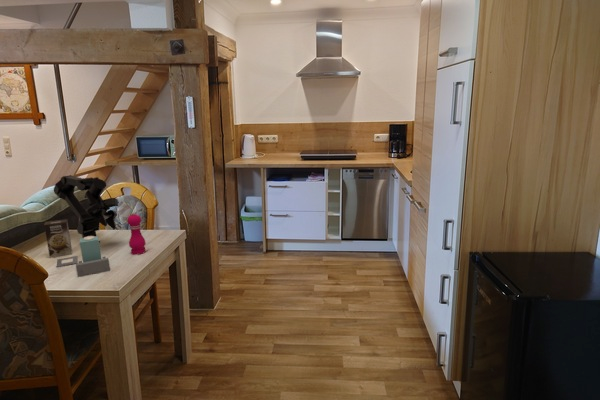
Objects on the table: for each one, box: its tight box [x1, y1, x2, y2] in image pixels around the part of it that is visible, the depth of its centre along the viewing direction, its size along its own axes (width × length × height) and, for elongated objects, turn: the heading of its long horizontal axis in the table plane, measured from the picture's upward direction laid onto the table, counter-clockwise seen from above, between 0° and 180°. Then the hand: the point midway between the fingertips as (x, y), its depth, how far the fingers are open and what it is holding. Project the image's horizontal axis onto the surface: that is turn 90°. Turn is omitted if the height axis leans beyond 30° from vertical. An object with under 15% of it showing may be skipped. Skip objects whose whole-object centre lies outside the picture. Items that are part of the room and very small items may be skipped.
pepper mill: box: [126, 211, 146, 256], centre depth 183 cm, size 7×7×20 cm
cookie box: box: [43, 218, 73, 259], centre depth 184 cm, size 9×6×16 cm
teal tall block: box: [79, 235, 102, 263], centre depth 169 cm, size 6×7×13 cm
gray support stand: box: [75, 256, 111, 278], centre depth 166 cm, size 11×12×5 cm
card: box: [56, 255, 79, 268], centre depth 176 cm, size 10×8×1 cm
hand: (110, 227), depth 186 cm, fingers open, 9 cm apart
